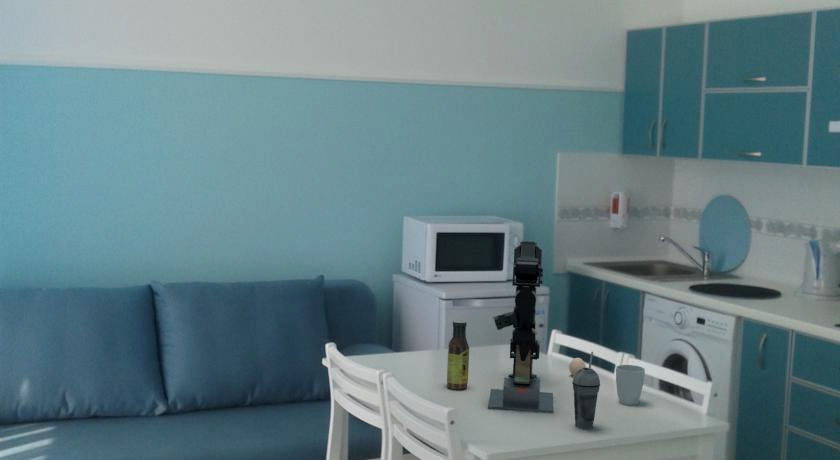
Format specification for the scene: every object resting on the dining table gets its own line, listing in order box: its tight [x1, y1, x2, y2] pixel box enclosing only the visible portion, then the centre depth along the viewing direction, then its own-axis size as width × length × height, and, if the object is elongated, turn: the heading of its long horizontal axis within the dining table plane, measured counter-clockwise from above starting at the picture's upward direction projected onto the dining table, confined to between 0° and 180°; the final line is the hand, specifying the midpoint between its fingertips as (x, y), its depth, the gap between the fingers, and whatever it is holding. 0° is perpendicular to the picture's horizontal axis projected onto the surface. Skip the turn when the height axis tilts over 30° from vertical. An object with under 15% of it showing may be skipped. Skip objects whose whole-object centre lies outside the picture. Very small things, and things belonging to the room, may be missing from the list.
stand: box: [487, 377, 555, 414], centre depth 284 cm, size 18×18×6 cm
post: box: [515, 345, 531, 384], centre depth 283 cm, size 4×4×10 cm
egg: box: [568, 357, 587, 376], centre depth 314 cm, size 5×5×6 cm
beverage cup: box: [572, 351, 601, 430], centre depth 262 cm, size 7×7×20 cm
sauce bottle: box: [446, 319, 470, 391], centre depth 296 cm, size 6×6×20 cm
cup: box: [615, 364, 646, 406], centre depth 286 cm, size 8×8×10 cm
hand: (523, 359), depth 283 cm, fingers closed on post, 4 cm apart
